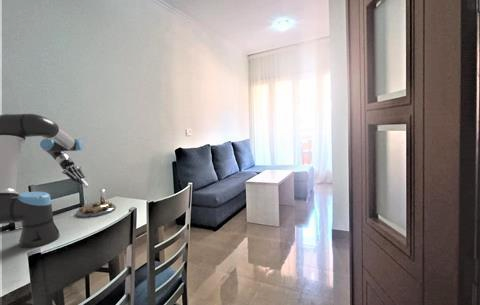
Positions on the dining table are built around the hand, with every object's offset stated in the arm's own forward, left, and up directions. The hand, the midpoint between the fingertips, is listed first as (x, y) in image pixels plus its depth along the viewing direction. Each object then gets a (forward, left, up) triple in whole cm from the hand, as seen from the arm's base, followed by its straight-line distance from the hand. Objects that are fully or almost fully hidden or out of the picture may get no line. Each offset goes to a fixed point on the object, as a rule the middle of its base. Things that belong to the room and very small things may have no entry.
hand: (86, 186), depth 170 cm
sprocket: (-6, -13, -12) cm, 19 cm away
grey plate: (-6, -13, -14) cm, 20 cm away
